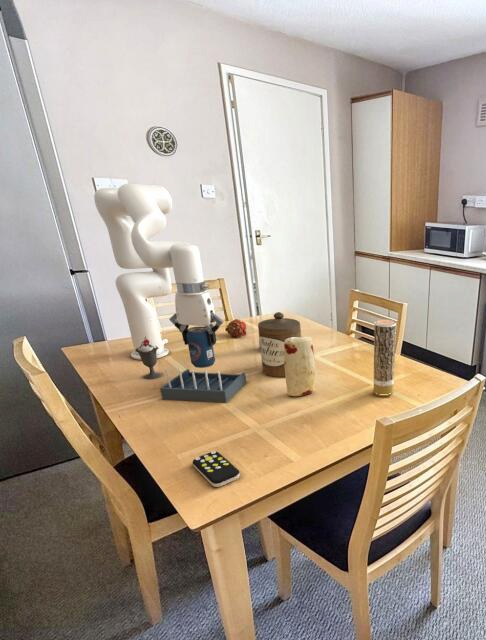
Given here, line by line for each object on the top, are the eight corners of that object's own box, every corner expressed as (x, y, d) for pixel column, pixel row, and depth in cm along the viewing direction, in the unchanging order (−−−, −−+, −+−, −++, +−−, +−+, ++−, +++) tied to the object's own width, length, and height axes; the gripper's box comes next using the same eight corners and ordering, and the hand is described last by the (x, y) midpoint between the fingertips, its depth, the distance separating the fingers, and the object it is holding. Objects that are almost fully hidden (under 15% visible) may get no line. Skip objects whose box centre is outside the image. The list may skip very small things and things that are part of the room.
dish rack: (188, 379, 142) (184, 353, 138) (246, 382, 142) (243, 356, 138) (162, 399, 127) (156, 370, 123) (226, 402, 127) (222, 374, 123)
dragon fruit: (239, 343, 183) (234, 340, 192) (253, 331, 185) (248, 327, 194) (224, 329, 178) (220, 326, 188) (239, 316, 180) (235, 314, 190)
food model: (290, 401, 131) (285, 341, 123) (283, 393, 136) (278, 335, 128) (319, 394, 136) (316, 337, 128) (311, 387, 141) (308, 331, 133)
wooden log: (396, 391, 142) (398, 321, 132) (388, 399, 136) (390, 326, 126) (378, 387, 144) (379, 318, 134) (370, 395, 138) (370, 323, 128)
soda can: (186, 366, 130) (180, 330, 125) (204, 359, 136) (198, 324, 131) (203, 370, 128) (196, 333, 123) (220, 363, 134) (215, 328, 129)
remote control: (215, 490, 90) (214, 482, 89) (191, 465, 97) (190, 458, 96) (242, 477, 94) (241, 470, 93) (217, 455, 101) (216, 448, 101)
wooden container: (254, 372, 150) (247, 314, 141) (279, 360, 163) (275, 305, 154) (288, 380, 145) (283, 320, 136) (311, 366, 158) (308, 311, 149)
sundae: (154, 380, 139) (144, 338, 133) (137, 378, 140) (127, 336, 134) (168, 373, 145) (160, 333, 139) (152, 371, 146) (143, 331, 140)
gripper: (225, 287, 125) (232, 342, 133) (168, 283, 125) (179, 339, 132) (214, 291, 119) (222, 349, 126) (154, 288, 118) (166, 346, 126)
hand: (200, 343), depth 129 cm, fingers closed on soda can, 7 cm apart
